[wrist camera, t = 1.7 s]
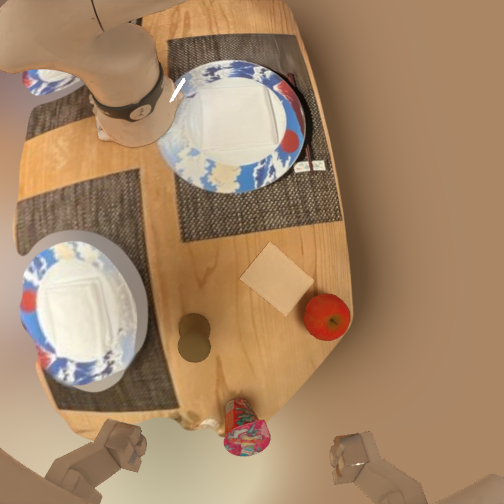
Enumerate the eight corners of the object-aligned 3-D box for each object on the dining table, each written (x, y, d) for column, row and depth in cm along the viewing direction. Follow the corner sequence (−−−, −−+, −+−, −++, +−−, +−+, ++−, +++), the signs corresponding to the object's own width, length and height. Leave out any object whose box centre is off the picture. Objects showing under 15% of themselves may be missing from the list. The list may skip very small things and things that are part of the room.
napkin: (238, 278, 51) (239, 278, 51) (269, 241, 52) (270, 241, 51) (285, 316, 53) (286, 316, 53) (313, 280, 54) (314, 280, 54)
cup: (255, 420, 53) (268, 454, 41) (217, 422, 51) (224, 457, 39) (258, 387, 53) (273, 419, 41) (217, 389, 51) (223, 422, 39)
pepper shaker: (210, 313, 50) (213, 332, 39) (210, 343, 50) (214, 367, 40) (177, 313, 49) (173, 332, 38) (179, 343, 49) (175, 368, 38)
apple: (290, 294, 53) (312, 306, 42) (328, 284, 55) (356, 292, 44) (296, 334, 54) (318, 353, 43) (333, 322, 55) (360, 338, 45)
